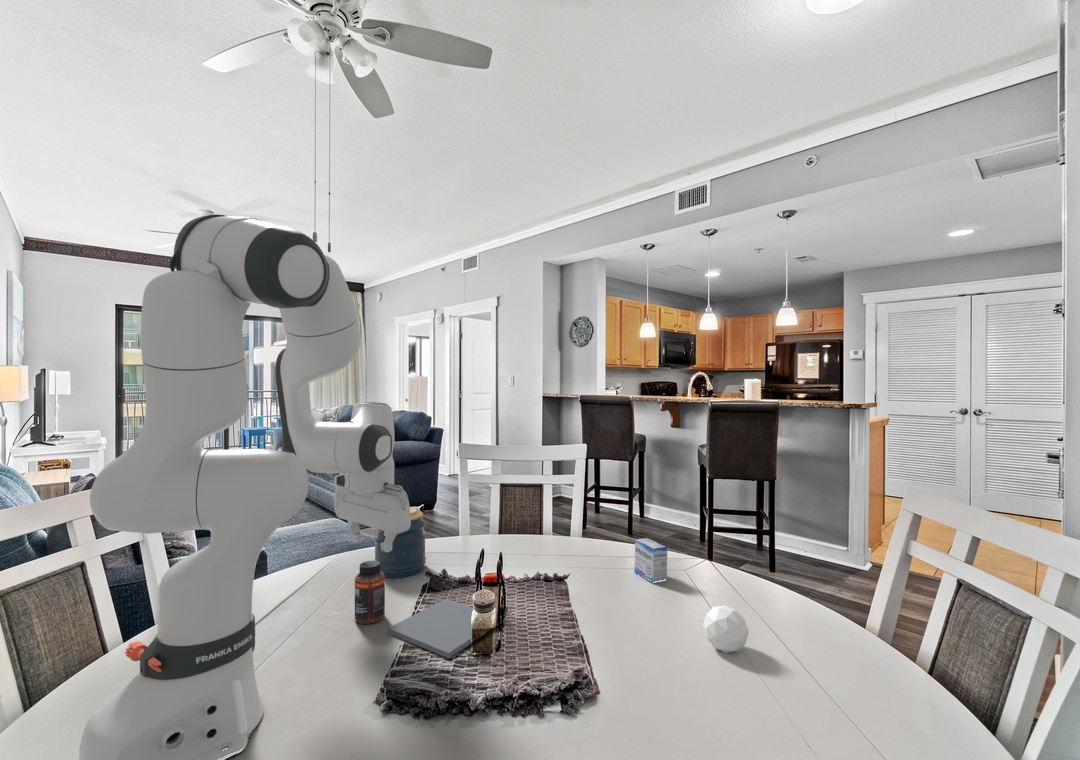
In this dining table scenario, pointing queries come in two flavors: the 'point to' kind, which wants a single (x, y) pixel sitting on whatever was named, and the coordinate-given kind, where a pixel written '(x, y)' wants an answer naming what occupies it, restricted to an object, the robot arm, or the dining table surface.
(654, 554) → the medicine box
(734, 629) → the geometric ball
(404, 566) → the canister
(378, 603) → the supplement bottle
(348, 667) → the dining table surface
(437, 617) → the mat
